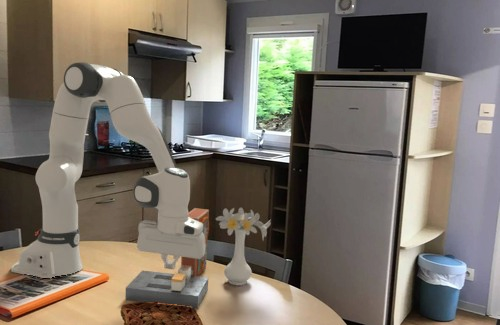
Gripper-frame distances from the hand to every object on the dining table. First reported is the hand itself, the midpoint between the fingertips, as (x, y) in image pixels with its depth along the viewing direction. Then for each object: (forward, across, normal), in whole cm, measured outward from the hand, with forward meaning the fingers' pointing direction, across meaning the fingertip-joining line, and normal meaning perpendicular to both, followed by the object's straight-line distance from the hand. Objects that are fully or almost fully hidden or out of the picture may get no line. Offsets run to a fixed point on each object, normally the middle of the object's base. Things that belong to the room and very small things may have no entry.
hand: (169, 268), depth 139 cm
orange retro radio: (+10, +2, +24) cm, 26 cm away
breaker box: (+10, -1, +4) cm, 11 cm away
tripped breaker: (+6, +3, 0) cm, 7 cm away
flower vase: (+10, +19, +20) cm, 29 cm away
